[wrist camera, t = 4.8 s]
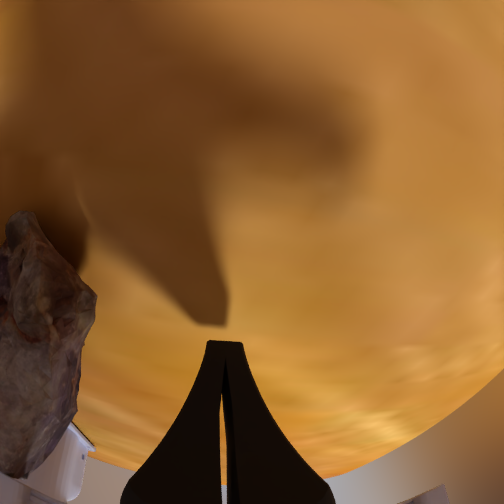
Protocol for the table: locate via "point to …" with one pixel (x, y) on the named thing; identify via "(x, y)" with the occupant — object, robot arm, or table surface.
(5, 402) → the rock
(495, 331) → the table surface
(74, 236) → the table surface
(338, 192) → the table surface
